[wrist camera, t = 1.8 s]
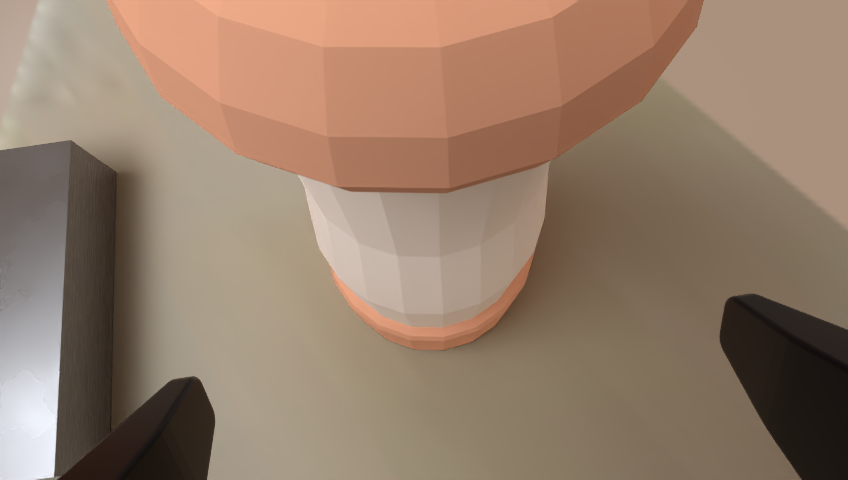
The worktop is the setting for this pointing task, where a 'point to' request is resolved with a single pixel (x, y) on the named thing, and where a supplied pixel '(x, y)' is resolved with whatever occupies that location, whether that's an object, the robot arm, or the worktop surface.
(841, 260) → the worktop surface
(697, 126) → the worktop surface
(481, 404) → the worktop surface
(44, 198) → the steel bar
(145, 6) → the salt shaker
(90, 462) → the robot arm
